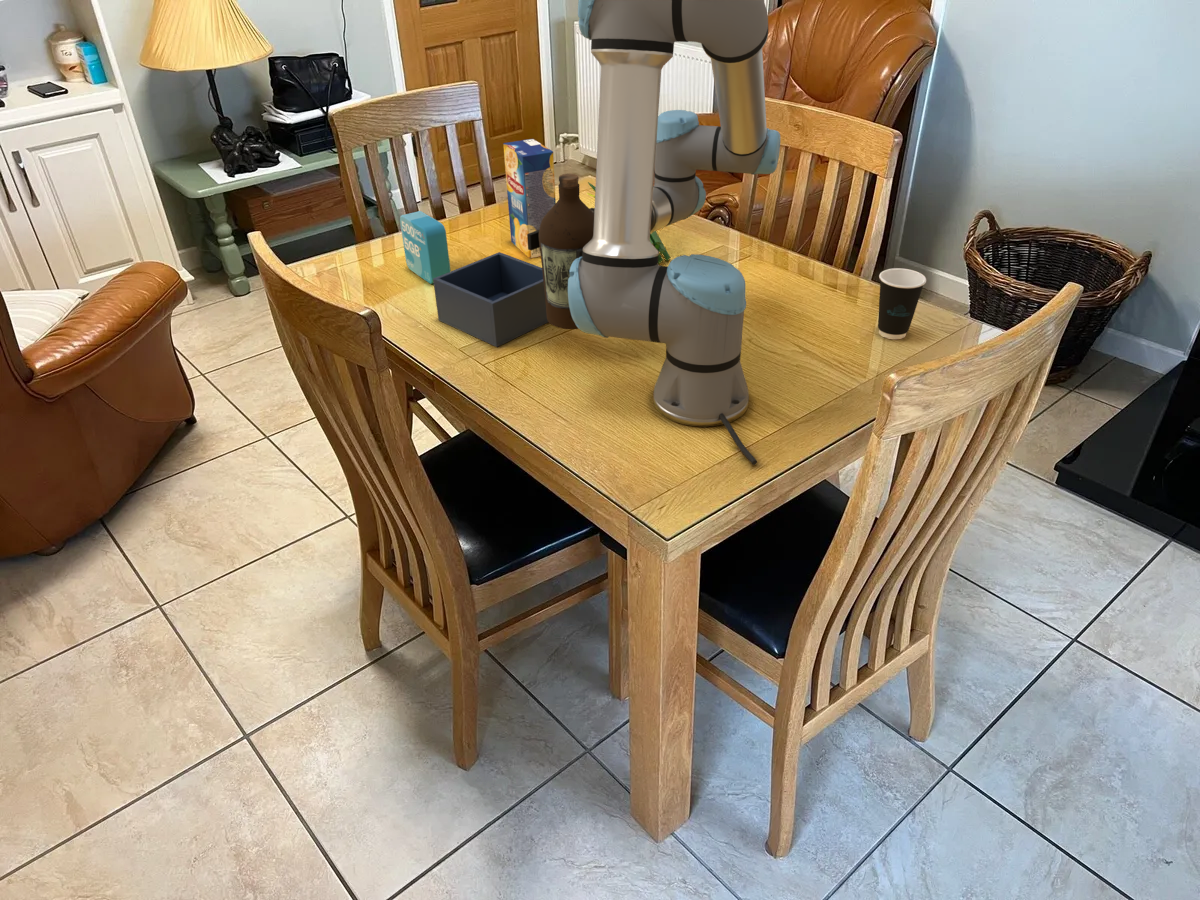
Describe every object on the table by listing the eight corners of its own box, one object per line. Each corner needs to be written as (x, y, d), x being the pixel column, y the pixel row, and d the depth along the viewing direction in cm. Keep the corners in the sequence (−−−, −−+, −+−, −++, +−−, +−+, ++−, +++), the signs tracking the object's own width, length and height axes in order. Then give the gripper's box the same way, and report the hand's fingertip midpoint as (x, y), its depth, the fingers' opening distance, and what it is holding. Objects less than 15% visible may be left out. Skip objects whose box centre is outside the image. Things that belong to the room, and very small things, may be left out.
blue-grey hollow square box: (561, 315, 170) (559, 274, 165) (496, 347, 160) (492, 303, 155) (502, 292, 180) (499, 251, 175) (438, 320, 170) (432, 278, 165)
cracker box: (538, 236, 204) (532, 138, 192) (558, 252, 196) (553, 151, 183) (511, 241, 202) (503, 143, 189) (529, 258, 194) (522, 156, 181)
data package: (406, 268, 191) (398, 213, 184) (425, 262, 193) (418, 208, 186) (432, 286, 183) (425, 230, 176) (452, 280, 185) (445, 224, 178)
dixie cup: (888, 347, 158) (899, 289, 151) (860, 328, 164) (870, 272, 158) (924, 338, 160) (936, 281, 154) (895, 320, 166) (906, 264, 160)
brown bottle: (557, 301, 162) (551, 163, 148) (612, 309, 159) (611, 169, 145) (533, 326, 154) (524, 183, 140) (590, 335, 151) (587, 190, 136)
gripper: (690, 250, 155) (605, 290, 142) (593, 220, 168) (507, 254, 155) (692, 208, 151) (604, 246, 137) (592, 180, 164) (503, 212, 150)
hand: (553, 250), depth 146 cm, fingers closed on brown bottle, 11 cm apart
